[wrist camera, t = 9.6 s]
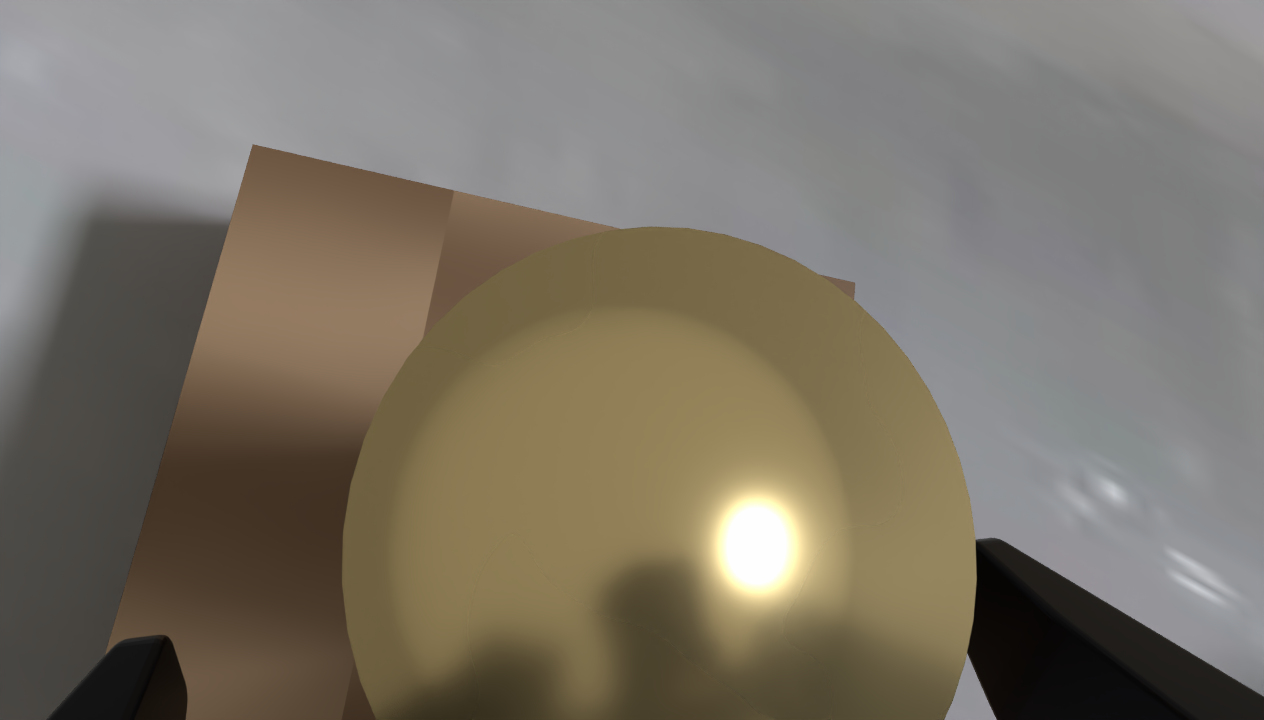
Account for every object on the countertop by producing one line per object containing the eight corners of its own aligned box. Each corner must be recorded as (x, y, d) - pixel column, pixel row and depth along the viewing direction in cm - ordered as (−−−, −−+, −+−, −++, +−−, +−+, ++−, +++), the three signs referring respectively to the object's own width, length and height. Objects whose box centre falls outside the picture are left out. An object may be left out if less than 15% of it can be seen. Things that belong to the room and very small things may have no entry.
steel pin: (585, 643, 17) (967, 923, 5) (393, 620, 17) (259, 891, 4) (612, 457, 18) (984, 294, 6) (432, 427, 18) (423, 164, 5)
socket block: (728, 845, 17) (810, 933, 13) (137, 805, 15) (34, 898, 11) (776, 330, 20) (855, 282, 16) (292, 227, 18) (252, 144, 14)
